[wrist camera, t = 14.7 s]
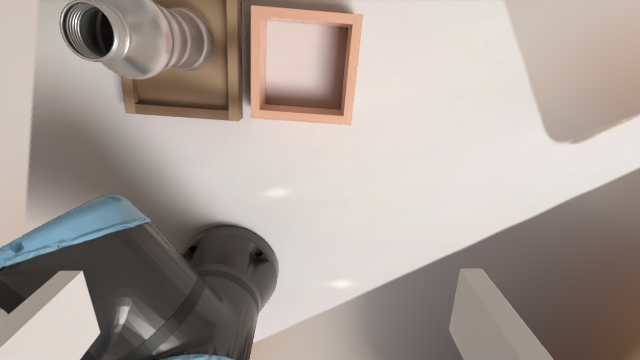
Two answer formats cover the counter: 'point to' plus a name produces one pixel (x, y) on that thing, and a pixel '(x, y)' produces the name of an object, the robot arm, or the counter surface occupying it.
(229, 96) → the tray
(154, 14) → the plastic bottle
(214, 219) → the counter surface
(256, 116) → the wooden box frame
